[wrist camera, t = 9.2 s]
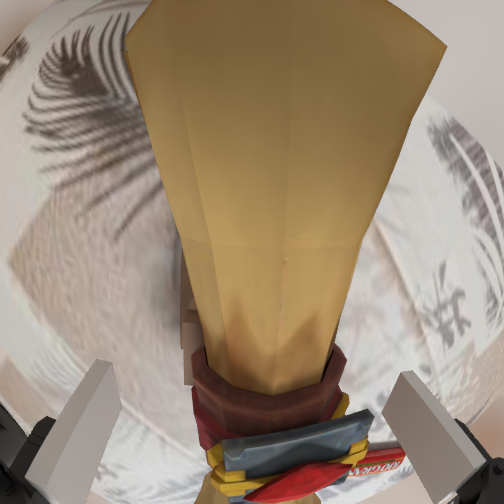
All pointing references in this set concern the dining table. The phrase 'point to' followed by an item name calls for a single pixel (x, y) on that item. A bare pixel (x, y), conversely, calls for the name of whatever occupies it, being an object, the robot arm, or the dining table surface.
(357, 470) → the candy bar
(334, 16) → the scroll
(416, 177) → the dining table surface
